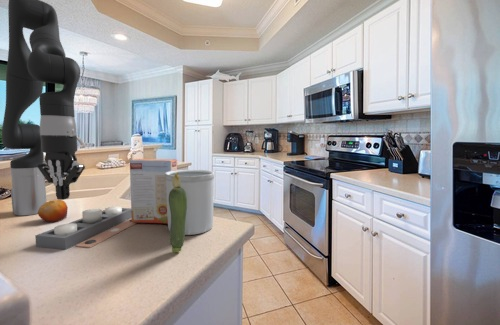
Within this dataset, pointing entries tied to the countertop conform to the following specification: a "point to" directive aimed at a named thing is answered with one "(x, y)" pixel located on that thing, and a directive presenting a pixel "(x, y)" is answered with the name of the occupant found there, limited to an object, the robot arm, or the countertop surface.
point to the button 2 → (113, 210)
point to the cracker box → (150, 189)
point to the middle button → (92, 215)
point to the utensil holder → (194, 199)
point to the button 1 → (65, 229)
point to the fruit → (53, 211)
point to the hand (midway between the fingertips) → (63, 198)
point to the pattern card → (106, 234)
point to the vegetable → (177, 214)
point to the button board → (81, 231)
